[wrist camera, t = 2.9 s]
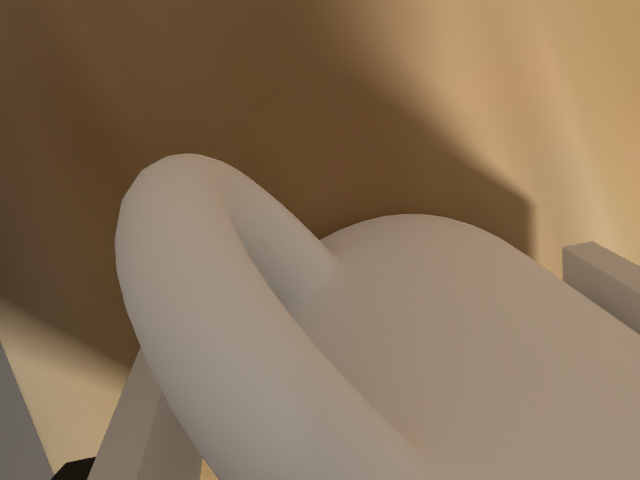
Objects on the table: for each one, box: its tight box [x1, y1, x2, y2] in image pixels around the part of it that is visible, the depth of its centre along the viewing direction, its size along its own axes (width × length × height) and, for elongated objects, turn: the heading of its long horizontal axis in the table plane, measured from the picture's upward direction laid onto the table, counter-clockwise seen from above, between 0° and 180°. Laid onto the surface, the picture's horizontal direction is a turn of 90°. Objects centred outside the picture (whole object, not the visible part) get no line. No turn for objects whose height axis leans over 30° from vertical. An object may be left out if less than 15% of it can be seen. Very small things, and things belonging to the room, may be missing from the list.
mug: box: [115, 153, 640, 480], centre depth 9 cm, size 12×8×10 cm
